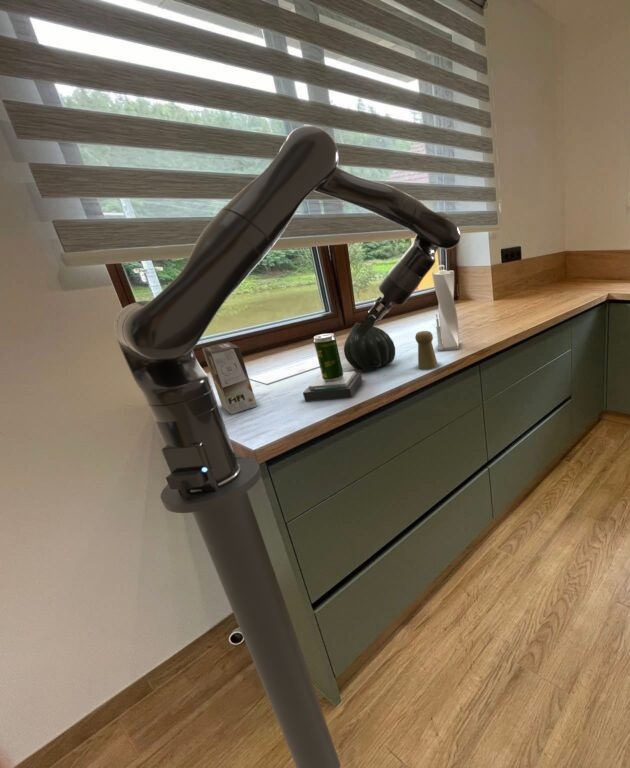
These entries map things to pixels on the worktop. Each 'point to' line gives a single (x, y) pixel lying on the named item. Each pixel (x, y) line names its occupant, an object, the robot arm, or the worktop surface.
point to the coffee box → (230, 377)
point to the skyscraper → (446, 310)
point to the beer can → (328, 357)
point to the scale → (333, 387)
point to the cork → (425, 350)
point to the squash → (369, 348)
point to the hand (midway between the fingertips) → (363, 330)
